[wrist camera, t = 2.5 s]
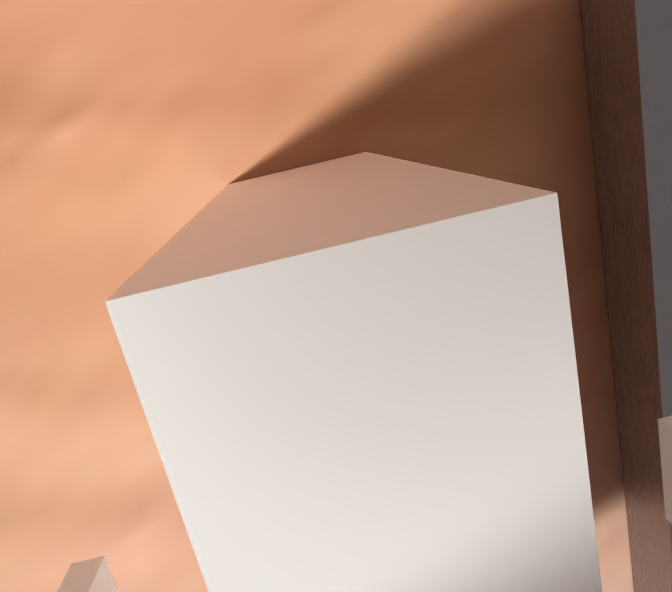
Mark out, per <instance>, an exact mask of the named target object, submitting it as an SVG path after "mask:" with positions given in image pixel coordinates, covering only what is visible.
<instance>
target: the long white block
mask: <svg viewBox="0 0 672 592" xmlns="http://www.w3.org/2000/svg"><path fill="white" fill-rule="evenodd" d="M105 303H106V306H107V309H108V312H109V315H110V317H111V320H112V323H113V326H114V329H115V331H116V334H117V337H118V340H119V342H120V345H121V348H122V351H123V354H124V356H125V359H126V362H127V365H128V368H129V370H130V373H131V376H132V379H133V382H134V384H135V387H136V390H137V393H138V396H139V398H140V401H141V404H142V407H143V410H144V412H145V415H146V418H147V421H148V424H149V426H150V429H151V432H152V435H153V438H154V440H155V443H156V446H157V449H158V451H159V454H160V457H161V460H162V463H163V465H164V468H165V471H166V474H167V477H168V479H169V482H170V485H171V488H172V491H173V493H174V496H175V499H176V502H177V505H178V507H179V510H180V513H181V516H182V519H183V521H184V524H185V527H186V530H187V533H188V535H189V538H190V541H191V544H192V547H193V549H194V552H195V555H196V558H197V561H198V563H199V566H200V569H201V572H202V574H203V577H204V580H205V583H206V586H207V588H208V591H209V592H602V587H601V578H600V569H599V560H598V551H597V542H596V533H595V524H594V515H593V506H592V498H591V489H590V480H589V471H588V462H587V453H586V444H585V435H584V426H583V418H582V409H581V400H580V391H579V382H578V373H577V364H576V355H575V346H574V337H573V329H572V320H571V311H570V302H569V293H568V284H567V275H566V266H565V257H564V248H563V240H562V231H561V222H560V213H559V204H558V195H557V193H556V192H552V191H547V190H542V189H538V188H533V187H528V186H524V185H519V184H514V183H510V182H505V181H500V180H496V179H491V178H486V177H481V176H477V175H472V174H467V173H463V172H458V171H453V170H449V169H444V168H439V167H435V166H430V165H425V164H421V163H416V162H411V161H407V160H402V159H397V158H393V157H388V156H383V155H379V154H374V153H369V152H362V153H358V154H354V155H350V156H345V157H341V158H337V159H333V160H328V161H324V162H320V163H316V164H312V165H307V166H303V167H299V168H295V169H290V170H286V171H282V172H278V173H274V174H269V175H265V176H261V177H257V178H252V179H248V180H244V181H240V182H235V183H231V184H228V185H227V186H226V187H225V188H224V189H223V190H222V191H221V192H220V193H219V194H218V195H217V196H216V197H215V198H214V199H212V200H211V201H210V202H209V203H208V204H207V205H206V206H205V207H204V208H203V209H202V210H201V211H200V212H199V213H198V214H197V215H196V216H195V217H193V218H192V219H191V220H190V221H189V222H188V223H187V224H186V225H185V226H184V227H183V228H182V229H181V230H180V231H179V232H178V233H177V234H176V235H175V236H173V237H172V238H171V239H170V240H169V241H168V242H167V243H166V244H165V245H164V246H163V247H162V248H161V249H160V250H159V251H158V252H157V253H156V254H154V255H153V256H152V257H151V258H150V259H149V260H148V261H147V262H146V263H145V264H144V265H143V266H142V267H141V268H140V269H139V270H138V271H137V272H135V273H134V274H133V275H132V276H131V277H130V278H129V279H128V280H127V281H126V282H125V283H124V284H123V285H122V286H121V287H120V288H119V289H118V290H116V291H115V292H114V293H113V294H112V295H111V296H110V297H109V298H108V299H107V300H106V301H105Z"/></svg>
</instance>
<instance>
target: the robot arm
mask: <svg viewBox="0 0 672 592" xmlns="http://www.w3.org/2000/svg"><path fill="white" fill-rule="evenodd" d="M658 429H659V442H660V454H661V467H662V480H663V493H664V506H665V518H666V519H667V520H668V521H669V522H670V523H671V524H672V416H668V417H664V418H660V419H658ZM57 592H119V591H118V588H117V586H116V583H115V581H114V579H113V576H112V574H111V571H110V569H109V566H108V564H107V561H106V559H105V556H102V557H98V558H94V559H90V560H86V561H82V562H78V563H74V564H71V566H70V568H69V570H68V572H67V574H66V576H65V578H64V580H63V582H62V584H61V586H60V587H59V589H58V591H57Z"/></svg>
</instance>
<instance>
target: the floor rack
mask: <svg viewBox="0 0 672 592" xmlns="http://www.w3.org/2000/svg"><path fill="white" fill-rule="evenodd" d="M580 9H581V20H582V30H583V41H584V52H585V63H586V74H587V85H588V96H589V107H590V117H591V128H592V139H593V150H594V161H595V172H596V183H597V194H598V204H599V215H600V226H601V237H602V248H603V259H604V270H605V281H606V292H607V302H608V313H609V324H610V335H611V346H612V357H613V368H614V379H615V389H616V400H617V411H618V422H619V433H620V444H621V455H622V466H623V476H624V487H625V498H626V509H627V520H628V531H629V542H630V553H631V564H632V574H633V585H634V592H672V524H671V523H670V522H669V521H668V520H667V519H666V518H665V506H664V493H663V480H662V467H661V454H660V442H659V429H658V419H660V418H664V417H668V416H672V0H580Z"/></svg>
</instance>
